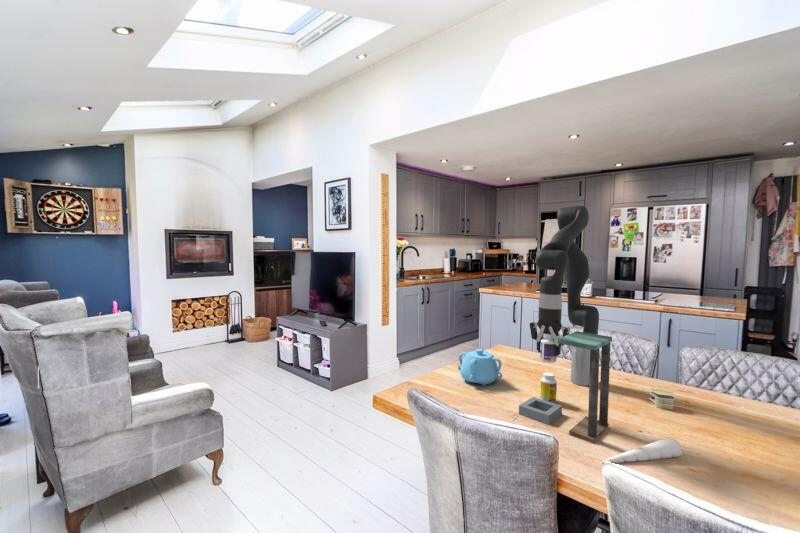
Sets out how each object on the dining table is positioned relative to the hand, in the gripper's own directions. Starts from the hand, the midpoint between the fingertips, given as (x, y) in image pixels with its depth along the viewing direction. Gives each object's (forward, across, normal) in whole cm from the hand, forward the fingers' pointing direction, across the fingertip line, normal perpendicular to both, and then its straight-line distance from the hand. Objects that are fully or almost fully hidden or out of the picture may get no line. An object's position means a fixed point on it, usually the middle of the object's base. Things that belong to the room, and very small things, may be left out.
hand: (548, 353), depth 131 cm
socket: (+20, 0, -5) cm, 21 cm away
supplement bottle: (+20, -3, +8) cm, 22 cm away
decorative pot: (+20, -33, +6) cm, 39 cm away
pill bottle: (+3, 0, 0) cm, 3 cm away
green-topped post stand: (+20, +14, -5) cm, 25 cm away
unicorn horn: (+21, +32, -11) cm, 40 cm away
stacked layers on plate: (+20, +28, +33) cm, 48 cm away
